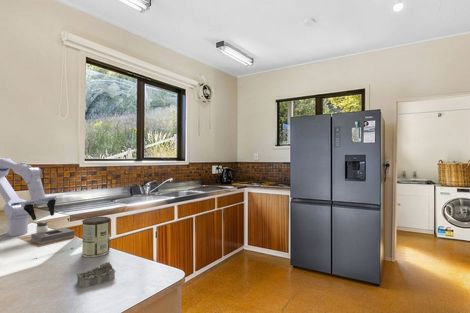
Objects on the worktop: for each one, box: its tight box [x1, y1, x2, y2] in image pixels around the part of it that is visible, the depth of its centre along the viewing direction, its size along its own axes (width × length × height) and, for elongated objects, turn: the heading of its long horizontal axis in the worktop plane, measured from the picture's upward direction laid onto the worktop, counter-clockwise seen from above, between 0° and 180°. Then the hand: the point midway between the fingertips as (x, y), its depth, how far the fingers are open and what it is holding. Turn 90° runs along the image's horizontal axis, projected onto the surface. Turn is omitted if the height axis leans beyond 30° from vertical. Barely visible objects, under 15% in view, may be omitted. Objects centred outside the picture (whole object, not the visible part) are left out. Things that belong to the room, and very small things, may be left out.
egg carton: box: [75, 261, 117, 288], centre depth 87 cm, size 11×8×4 cm
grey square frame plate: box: [30, 227, 75, 244], centre depth 127 cm, size 14×10×3 cm
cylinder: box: [35, 221, 49, 233], centre depth 131 cm, size 4×4×6 cm
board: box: [16, 234, 80, 248], centre depth 128 cm, size 24×17×1 cm
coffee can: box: [81, 216, 111, 258], centre depth 111 cm, size 10×10×14 cm
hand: (43, 217), depth 129 cm, fingers open, 7 cm apart
